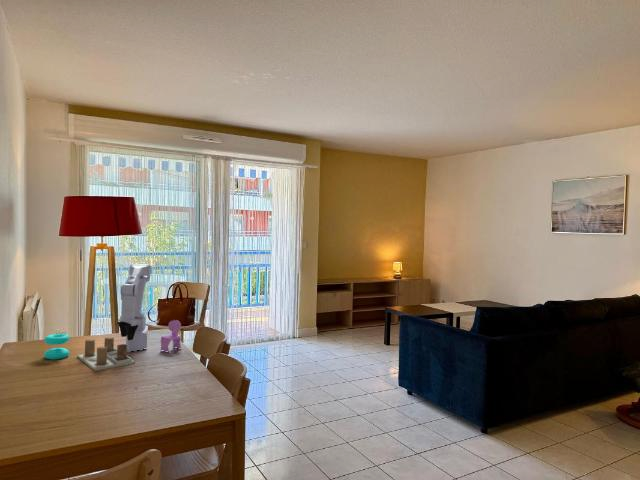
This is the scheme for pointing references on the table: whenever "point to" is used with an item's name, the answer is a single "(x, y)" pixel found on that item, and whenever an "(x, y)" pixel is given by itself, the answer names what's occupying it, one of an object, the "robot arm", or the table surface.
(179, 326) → the toy chair
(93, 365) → the pin board
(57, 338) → the donuts
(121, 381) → the table surface
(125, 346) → the walnut pin
